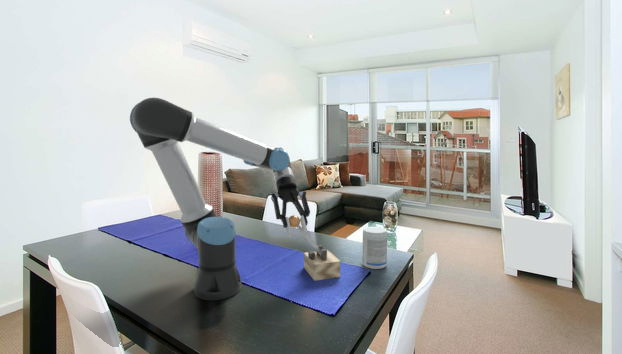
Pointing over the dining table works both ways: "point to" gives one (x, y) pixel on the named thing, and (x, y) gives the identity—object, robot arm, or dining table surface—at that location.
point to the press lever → (295, 223)
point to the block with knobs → (321, 264)
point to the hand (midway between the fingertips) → (297, 234)
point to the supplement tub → (374, 247)
